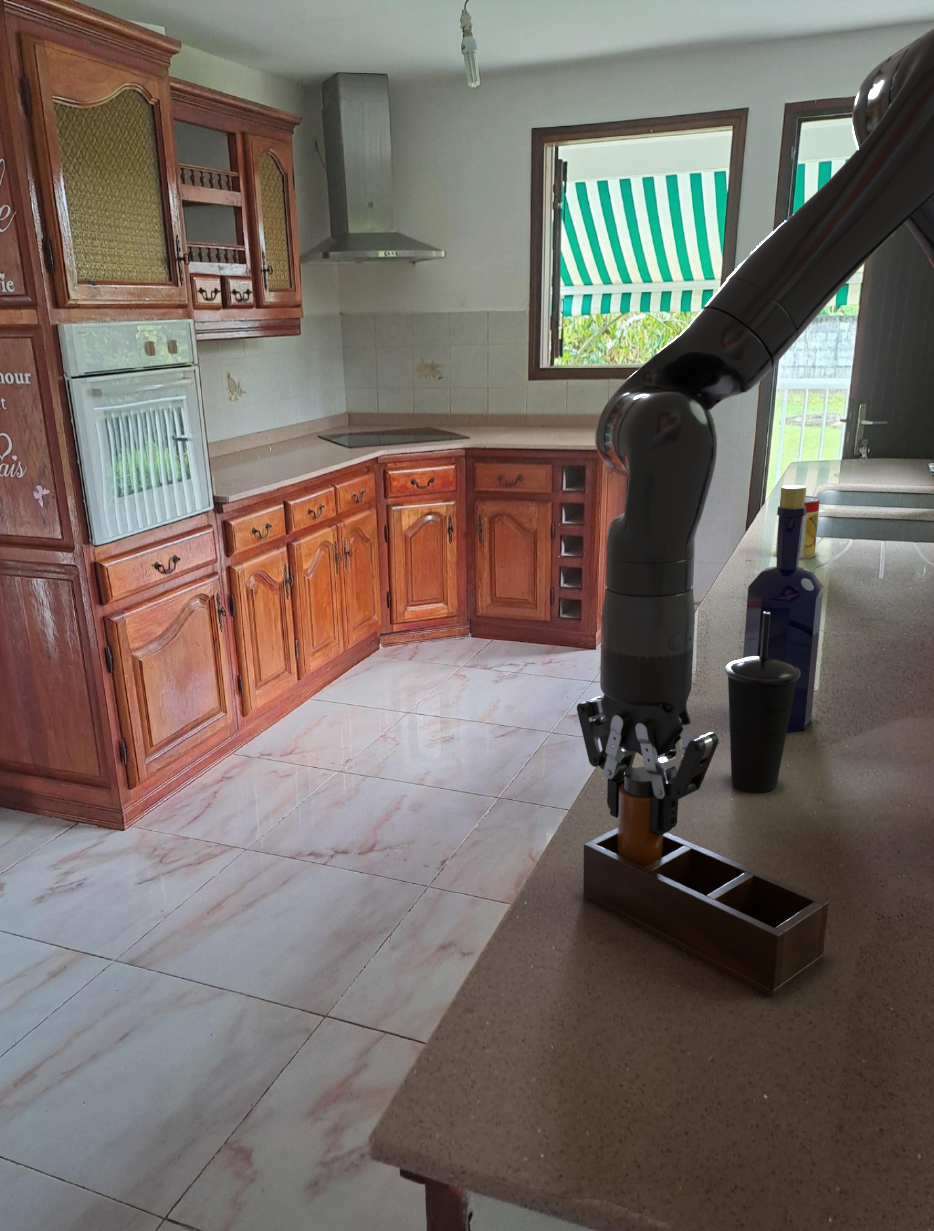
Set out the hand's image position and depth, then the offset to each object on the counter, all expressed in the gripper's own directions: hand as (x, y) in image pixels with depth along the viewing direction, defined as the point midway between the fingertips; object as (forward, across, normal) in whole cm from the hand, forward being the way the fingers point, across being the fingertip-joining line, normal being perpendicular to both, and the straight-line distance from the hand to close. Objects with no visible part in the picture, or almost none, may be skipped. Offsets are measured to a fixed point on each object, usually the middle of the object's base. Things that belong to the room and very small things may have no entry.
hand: (640, 822), depth 88 cm
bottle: (+8, +16, -46) cm, 49 cm away
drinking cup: (+8, +7, -28) cm, 30 cm away
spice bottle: (+5, 0, 0) cm, 5 cm away
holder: (+8, -6, 0) cm, 10 cm away
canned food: (+8, +66, -131) cm, 147 cm away
